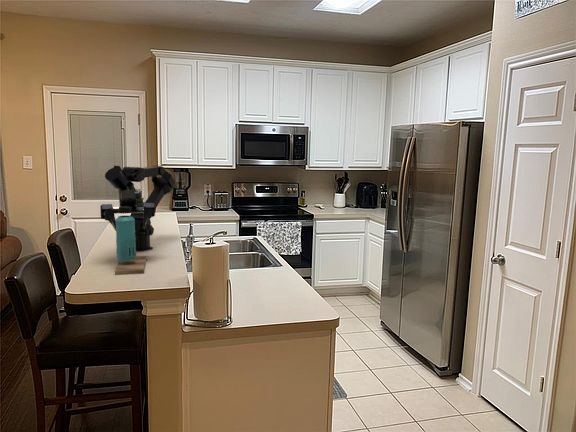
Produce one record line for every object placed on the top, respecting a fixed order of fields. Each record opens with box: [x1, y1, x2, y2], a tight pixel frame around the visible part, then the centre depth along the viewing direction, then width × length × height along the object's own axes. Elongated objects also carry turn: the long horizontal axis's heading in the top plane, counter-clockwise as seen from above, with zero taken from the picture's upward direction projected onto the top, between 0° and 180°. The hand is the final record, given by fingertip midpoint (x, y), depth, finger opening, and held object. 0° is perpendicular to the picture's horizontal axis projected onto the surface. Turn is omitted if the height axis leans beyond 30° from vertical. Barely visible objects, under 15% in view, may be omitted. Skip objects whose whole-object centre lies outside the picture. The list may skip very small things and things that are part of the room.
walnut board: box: [114, 255, 147, 276], centre depth 148 cm, size 18×9×1 cm, turn 16°
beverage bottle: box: [115, 206, 137, 262], centre depth 146 cm, size 6×7×20 cm
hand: (130, 229), depth 150 cm, fingers open, 9 cm apart
